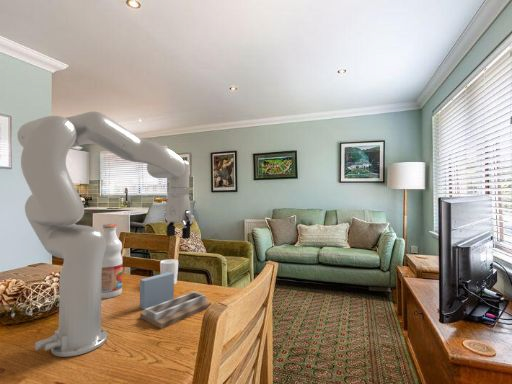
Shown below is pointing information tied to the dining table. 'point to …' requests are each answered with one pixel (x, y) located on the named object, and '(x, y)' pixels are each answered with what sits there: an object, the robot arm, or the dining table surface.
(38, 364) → the dining table surface
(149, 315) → the track plinth
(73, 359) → the dining table surface
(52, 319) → the dining table surface
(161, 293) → the plain gray rectangular block
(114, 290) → the fruit juice
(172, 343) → the dining table surface
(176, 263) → the white cup
